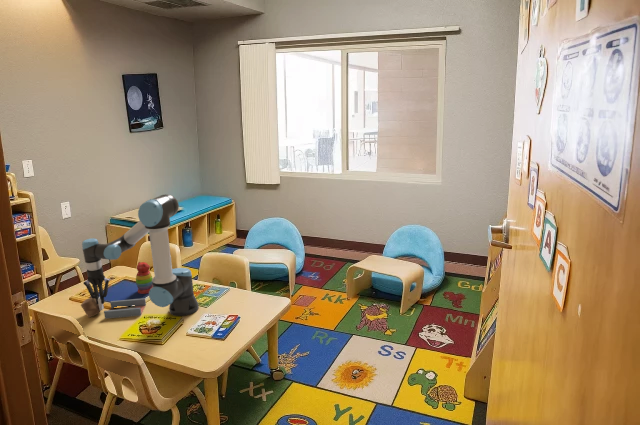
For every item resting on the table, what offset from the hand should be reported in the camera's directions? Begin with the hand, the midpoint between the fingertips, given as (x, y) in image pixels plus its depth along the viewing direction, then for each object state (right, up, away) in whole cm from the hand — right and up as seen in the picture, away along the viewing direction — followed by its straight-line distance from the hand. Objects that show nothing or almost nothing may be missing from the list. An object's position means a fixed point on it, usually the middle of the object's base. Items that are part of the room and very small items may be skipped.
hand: (101, 309), depth 246 cm
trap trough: (+12, -2, +2) cm, 12 cm away
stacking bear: (+14, +5, +28) cm, 31 cm away
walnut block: (-3, -2, 0) cm, 4 cm away
